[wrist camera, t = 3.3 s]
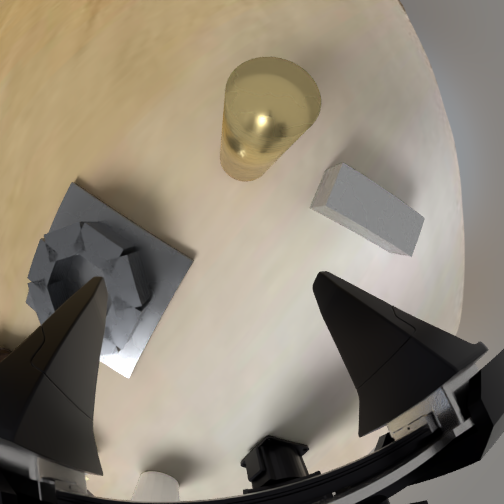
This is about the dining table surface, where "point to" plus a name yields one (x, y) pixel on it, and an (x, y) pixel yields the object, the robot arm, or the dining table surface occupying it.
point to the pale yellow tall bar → (265, 114)
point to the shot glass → (156, 488)
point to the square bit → (367, 210)
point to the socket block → (106, 273)
